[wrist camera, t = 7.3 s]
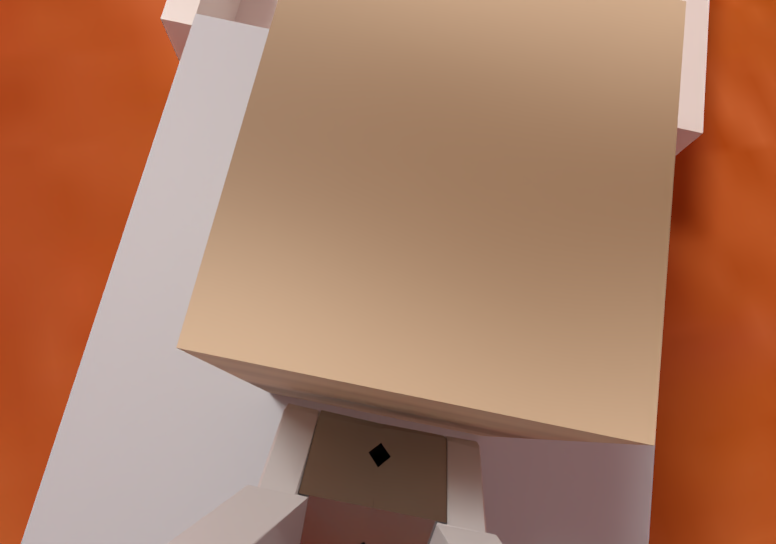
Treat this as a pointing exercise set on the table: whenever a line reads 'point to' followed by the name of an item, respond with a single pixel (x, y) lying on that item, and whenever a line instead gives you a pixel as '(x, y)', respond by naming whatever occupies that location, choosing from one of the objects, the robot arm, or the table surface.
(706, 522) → the table surface
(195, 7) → the tray
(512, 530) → the white box cover
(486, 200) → the oak block
